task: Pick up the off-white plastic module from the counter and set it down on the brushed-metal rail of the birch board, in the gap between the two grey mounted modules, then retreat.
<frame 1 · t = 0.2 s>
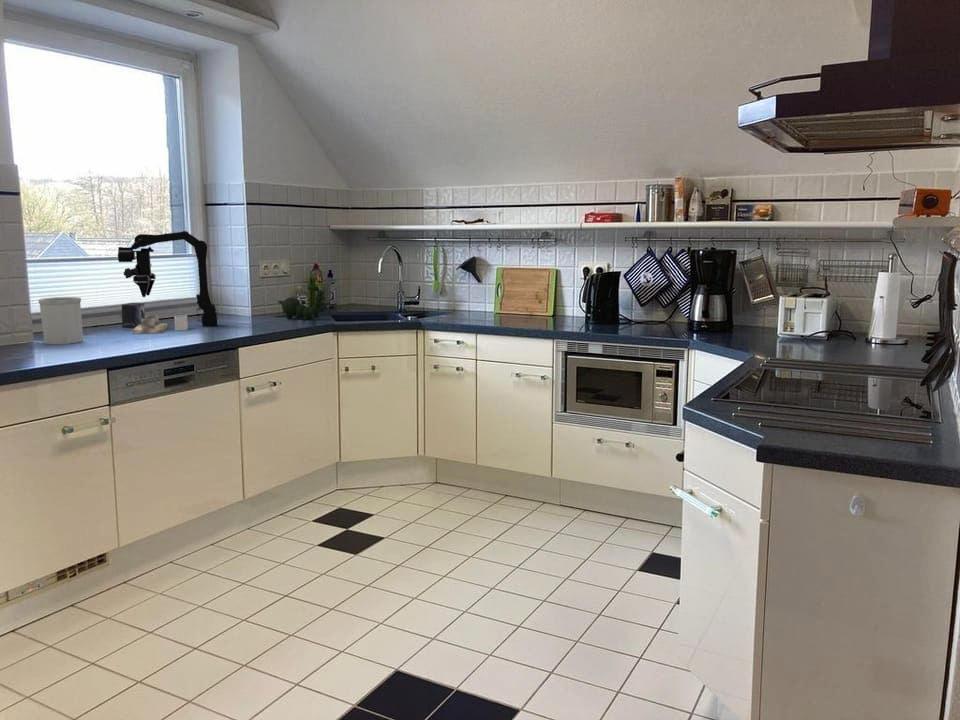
hand: (145, 296, 352), 14 cm above the counter, fingers open, 9 cm apart
utensil holder: (63, 342, 308), on the counter
small box: (134, 326, 359), on the counter
toy figurine: (301, 319, 392), on the counter
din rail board: (150, 330, 345), on the counter
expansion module: (181, 329, 349), on the counter
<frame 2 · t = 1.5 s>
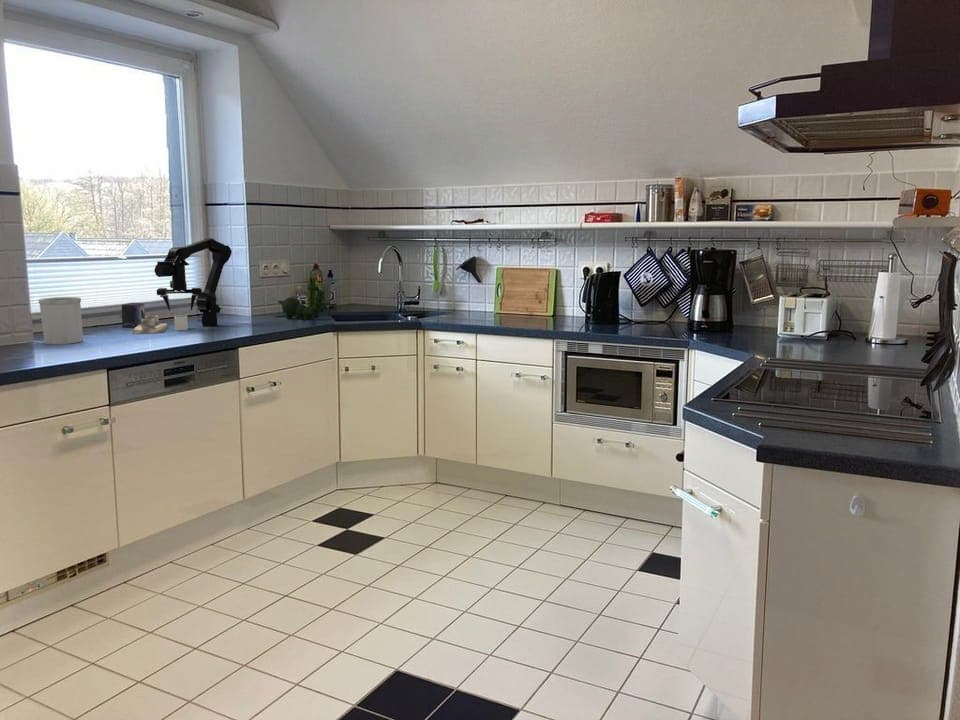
hand: (180, 310, 347), 9 cm above the counter, fingers open, 9 cm apart
nothing on the counter moved.
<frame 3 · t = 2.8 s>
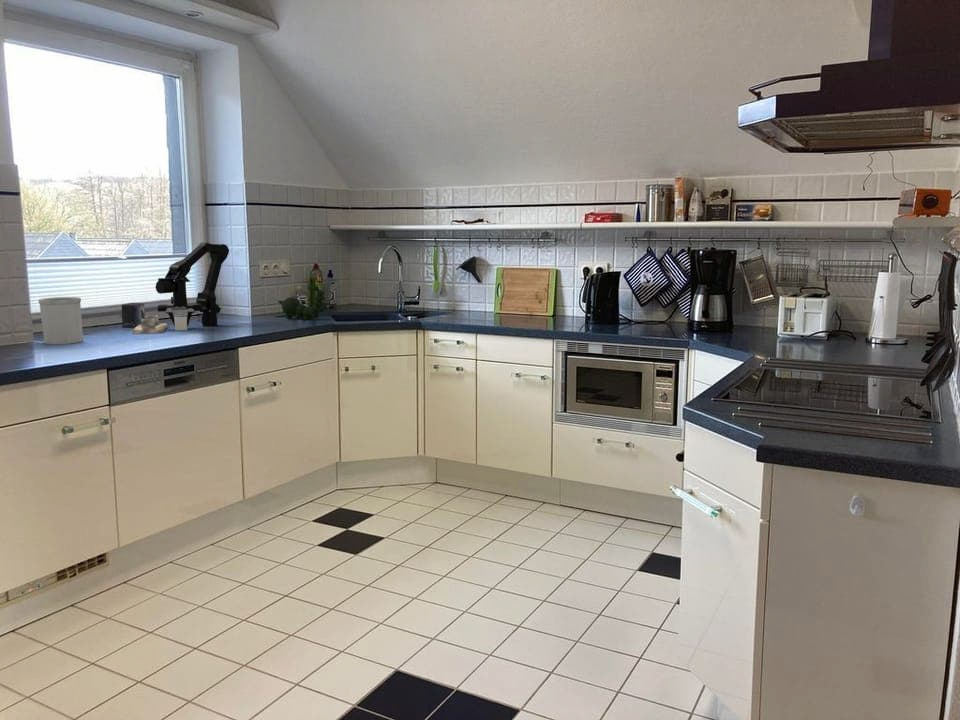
hand: (181, 326, 348), 1 cm above the counter, fingers closed on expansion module, 5 cm apart
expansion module: (181, 329, 349), on the counter, touching gripper
everything else where it was.
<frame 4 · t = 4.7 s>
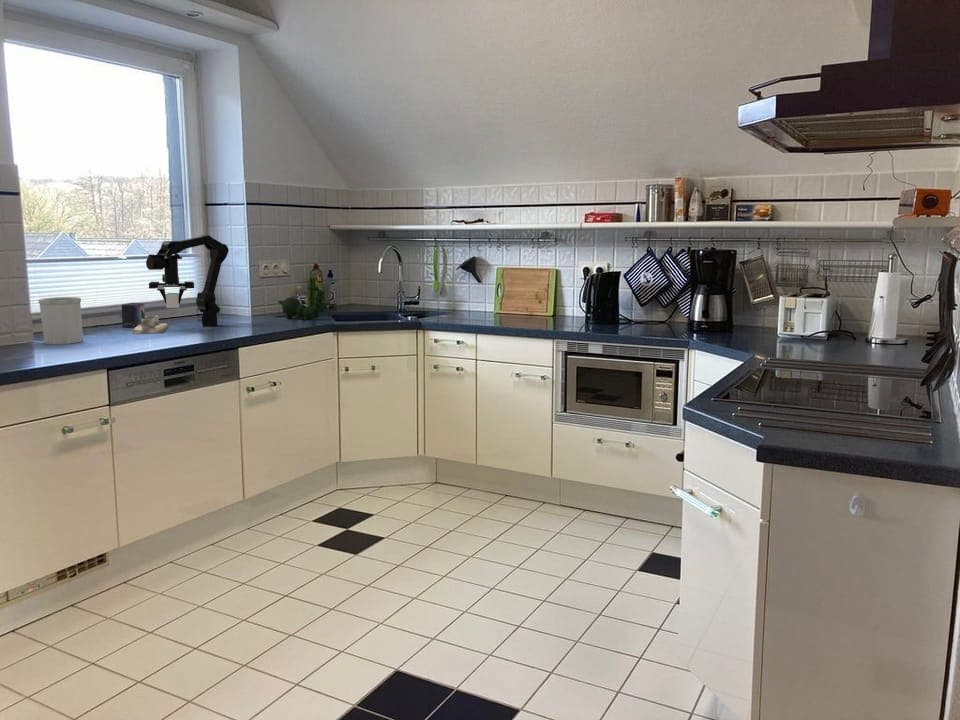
hand: (172, 304, 346), 11 cm above the counter, fingers closed on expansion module, 5 cm apart
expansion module: (173, 307, 346), point 10 cm above the counter, touching gripper
everything else where it was.
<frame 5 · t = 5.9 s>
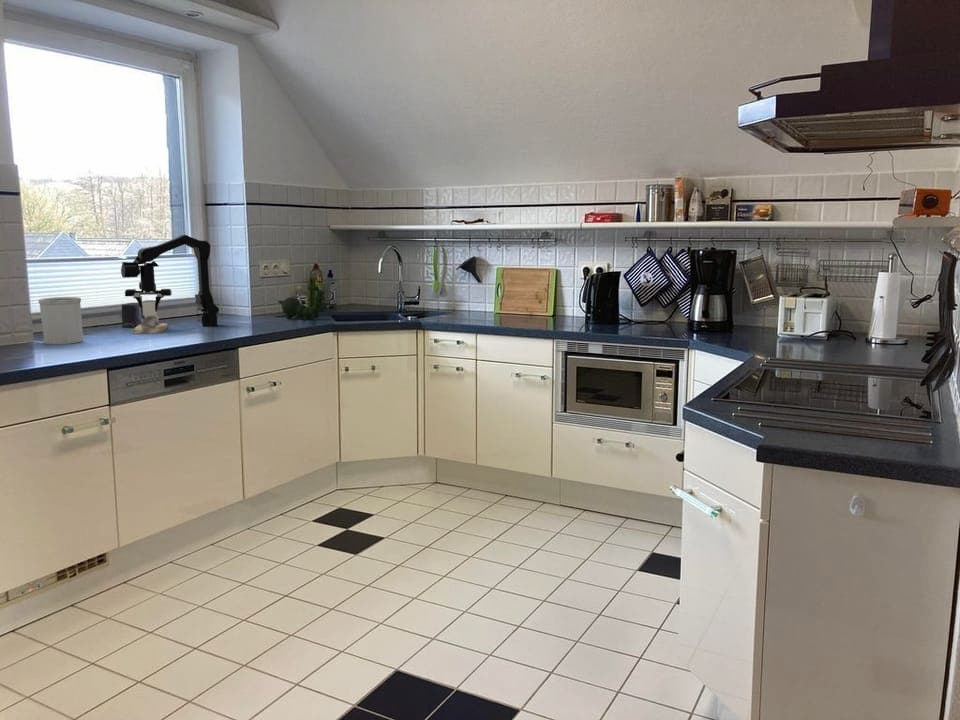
hand: (149, 311, 344), 8 cm above the counter, fingers closed on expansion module, 5 cm apart
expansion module: (149, 314, 344), point 7 cm above the counter, touching gripper
everything else where it was.
when the fingers open (4 cm above the counter, at t = 6.9 s): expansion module drops 1 cm, resting on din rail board.
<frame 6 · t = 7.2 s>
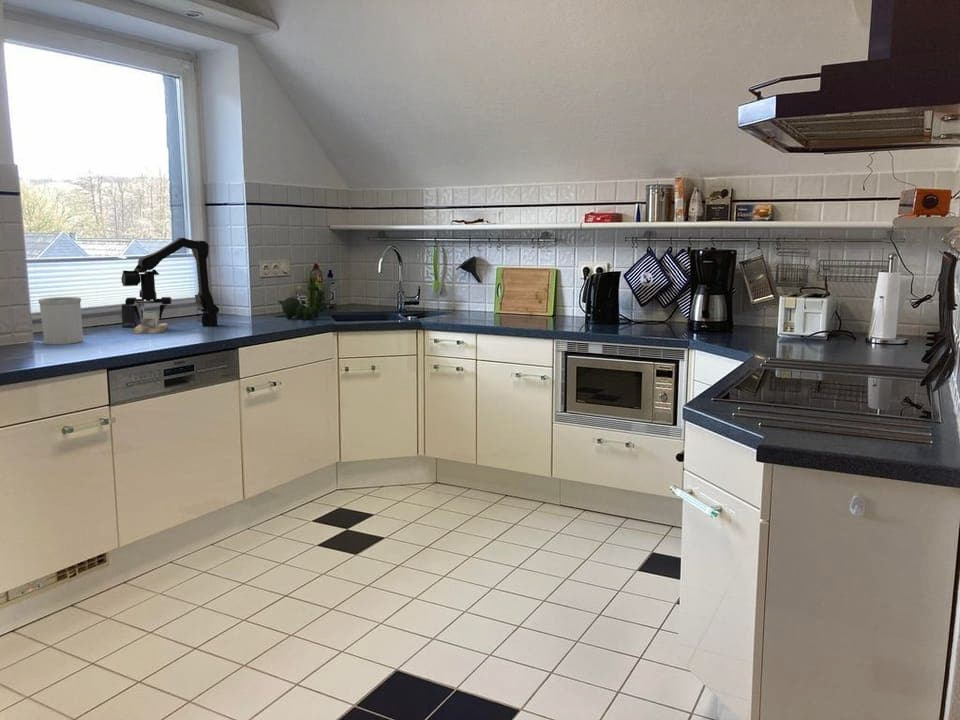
hand: (150, 320, 344), 4 cm above the counter, fingers open, 8 cm apart
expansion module: (150, 325, 345), point 2 cm above the counter, touching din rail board
everything else where it was.
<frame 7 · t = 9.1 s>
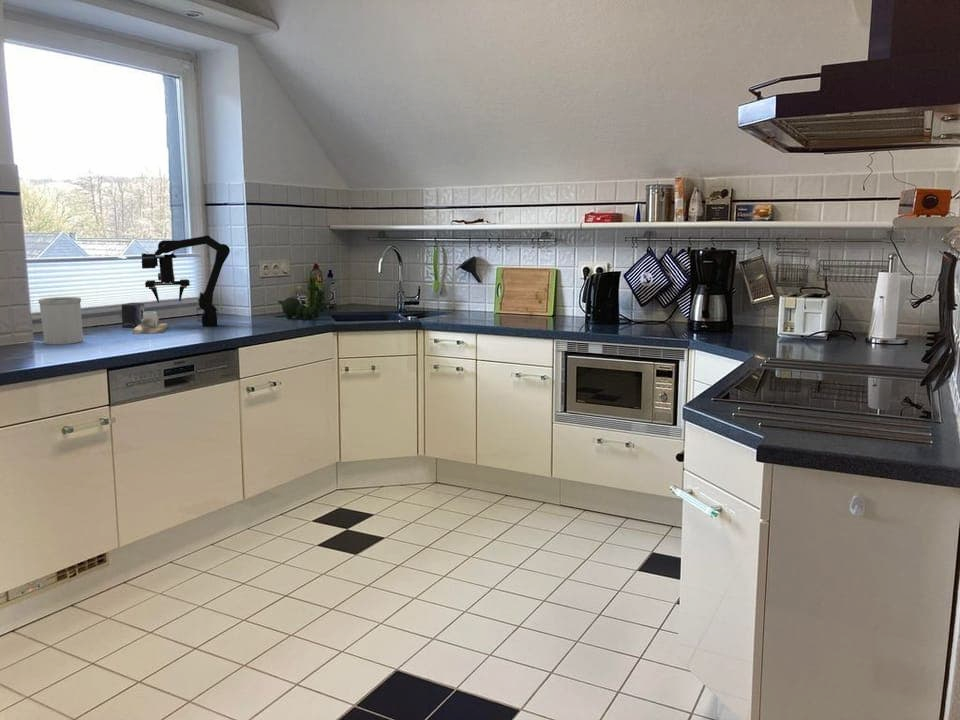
hand: (169, 302, 354), 12 cm above the counter, fingers open, 9 cm apart
nothing on the counter moved.
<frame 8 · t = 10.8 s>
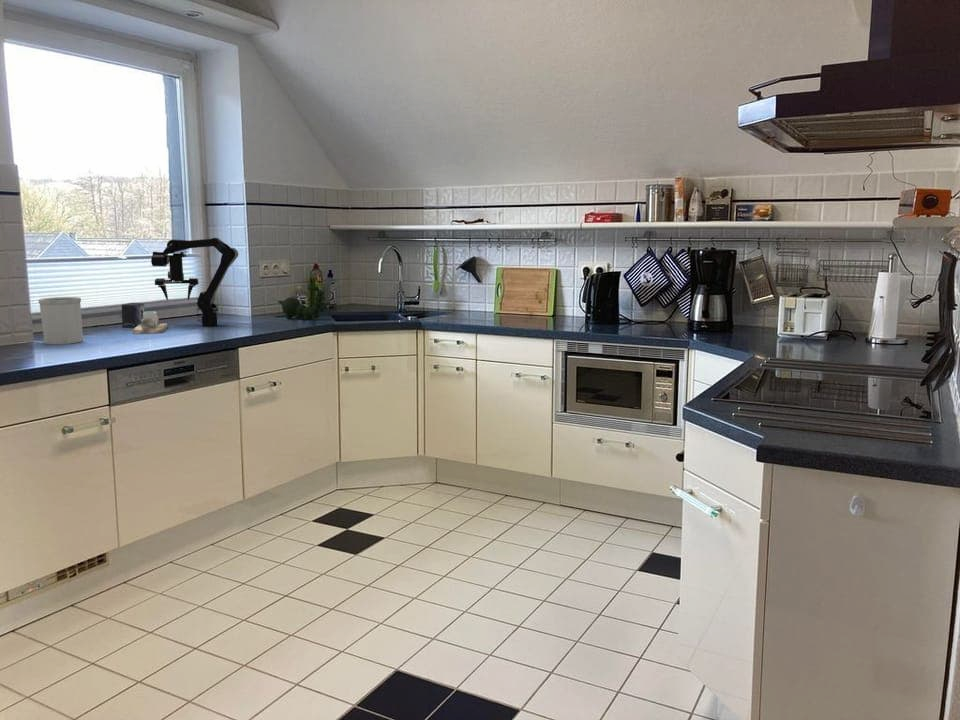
hand: (177, 300, 359), 12 cm above the counter, fingers open, 9 cm apart
nothing on the counter moved.
at the end: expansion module 0.1 cm off-centre on the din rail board, point 2.0 cm above the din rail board's base; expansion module tilted 0°; the gripper is holding nothing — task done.
